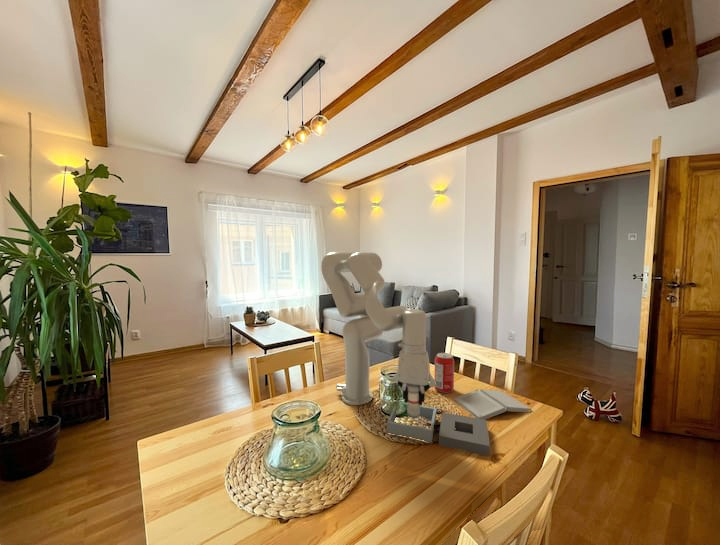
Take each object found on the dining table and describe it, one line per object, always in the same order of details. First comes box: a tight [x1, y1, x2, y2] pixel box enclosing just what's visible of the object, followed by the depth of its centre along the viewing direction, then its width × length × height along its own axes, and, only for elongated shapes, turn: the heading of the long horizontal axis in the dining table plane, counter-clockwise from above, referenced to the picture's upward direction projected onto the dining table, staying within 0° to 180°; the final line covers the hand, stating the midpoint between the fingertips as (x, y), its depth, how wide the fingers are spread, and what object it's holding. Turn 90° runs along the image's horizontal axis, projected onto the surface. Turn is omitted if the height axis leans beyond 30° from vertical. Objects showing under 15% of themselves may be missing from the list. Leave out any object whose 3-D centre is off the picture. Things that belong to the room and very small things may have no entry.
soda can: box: [433, 352, 455, 394], centre depth 125 cm, size 8×8×15 cm
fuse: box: [407, 384, 421, 418], centre depth 98 cm, size 4×4×10 cm
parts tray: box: [386, 405, 437, 444], centre depth 98 cm, size 14×14×4 cm
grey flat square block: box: [438, 411, 491, 457], centre depth 93 cm, size 14×14×3 cm
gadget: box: [454, 388, 532, 420], centre depth 112 cm, size 23×15×4 cm, turn 106°
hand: (413, 401), depth 98 cm, fingers closed on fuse, 4 cm apart
